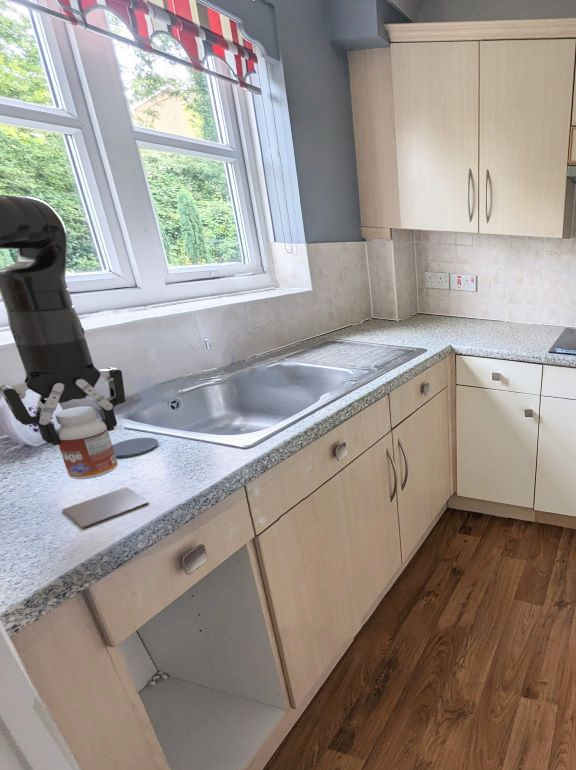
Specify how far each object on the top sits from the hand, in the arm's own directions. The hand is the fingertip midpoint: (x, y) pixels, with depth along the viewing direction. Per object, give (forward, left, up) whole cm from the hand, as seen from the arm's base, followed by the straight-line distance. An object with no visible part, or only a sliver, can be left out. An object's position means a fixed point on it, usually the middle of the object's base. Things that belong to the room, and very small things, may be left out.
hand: (83, 436), depth 75 cm
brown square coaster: (0, 0, -14) cm, 14 cm away
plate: (+12, +23, -14) cm, 29 cm away
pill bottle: (0, 0, -7) cm, 7 cm away
